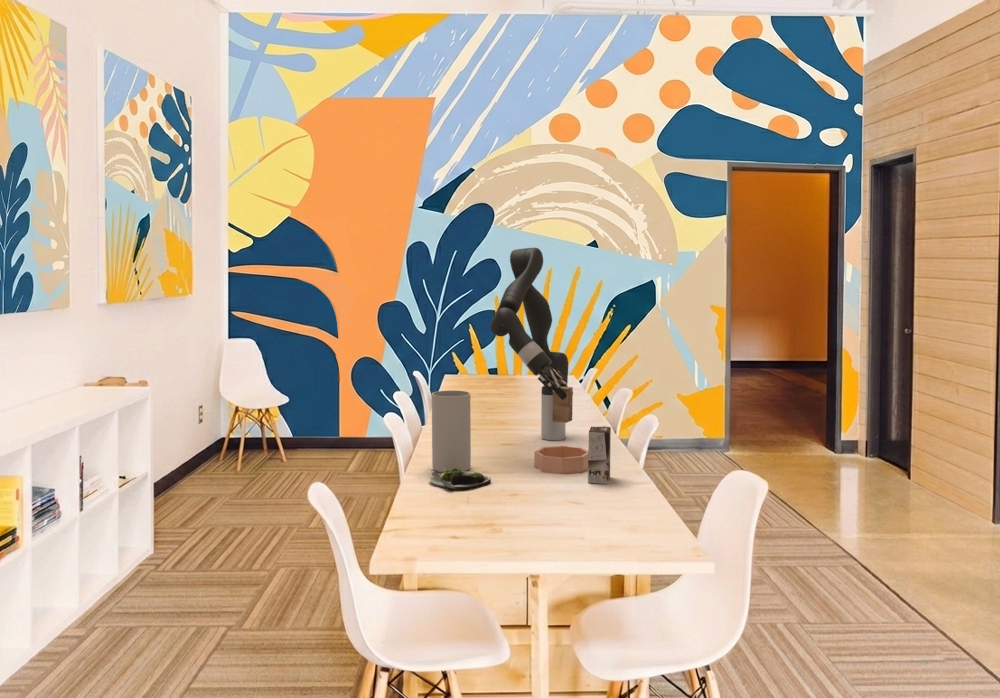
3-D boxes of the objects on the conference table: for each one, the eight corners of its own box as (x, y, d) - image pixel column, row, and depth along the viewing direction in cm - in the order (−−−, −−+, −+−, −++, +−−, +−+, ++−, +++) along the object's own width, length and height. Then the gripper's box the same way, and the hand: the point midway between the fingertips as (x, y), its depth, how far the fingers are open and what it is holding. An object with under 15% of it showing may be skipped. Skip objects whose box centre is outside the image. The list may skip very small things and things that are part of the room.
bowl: (548, 458, 285) (548, 444, 284) (595, 463, 277) (595, 449, 277) (528, 469, 269) (528, 454, 269) (577, 475, 262) (577, 460, 261)
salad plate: (412, 483, 254) (412, 468, 254) (454, 472, 267) (454, 458, 267) (456, 495, 241) (456, 479, 241) (498, 483, 254) (498, 468, 254)
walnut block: (558, 418, 275) (558, 386, 274) (572, 420, 273) (572, 387, 272) (552, 421, 271) (552, 388, 269) (566, 422, 268) (567, 389, 267)
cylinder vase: (427, 466, 274) (426, 391, 271) (462, 462, 279) (462, 389, 276) (439, 475, 262) (439, 397, 260) (476, 471, 267) (476, 395, 265)
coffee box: (608, 484, 252) (609, 432, 250) (587, 483, 253) (587, 431, 251) (610, 476, 261) (611, 426, 259) (590, 475, 262) (590, 425, 260)
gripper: (533, 352, 266) (567, 392, 262) (550, 348, 279) (583, 386, 275) (518, 368, 269) (552, 407, 265) (535, 363, 282) (568, 401, 278)
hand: (568, 396), depth 270 cm, fingers closed on walnut block, 5 cm apart
